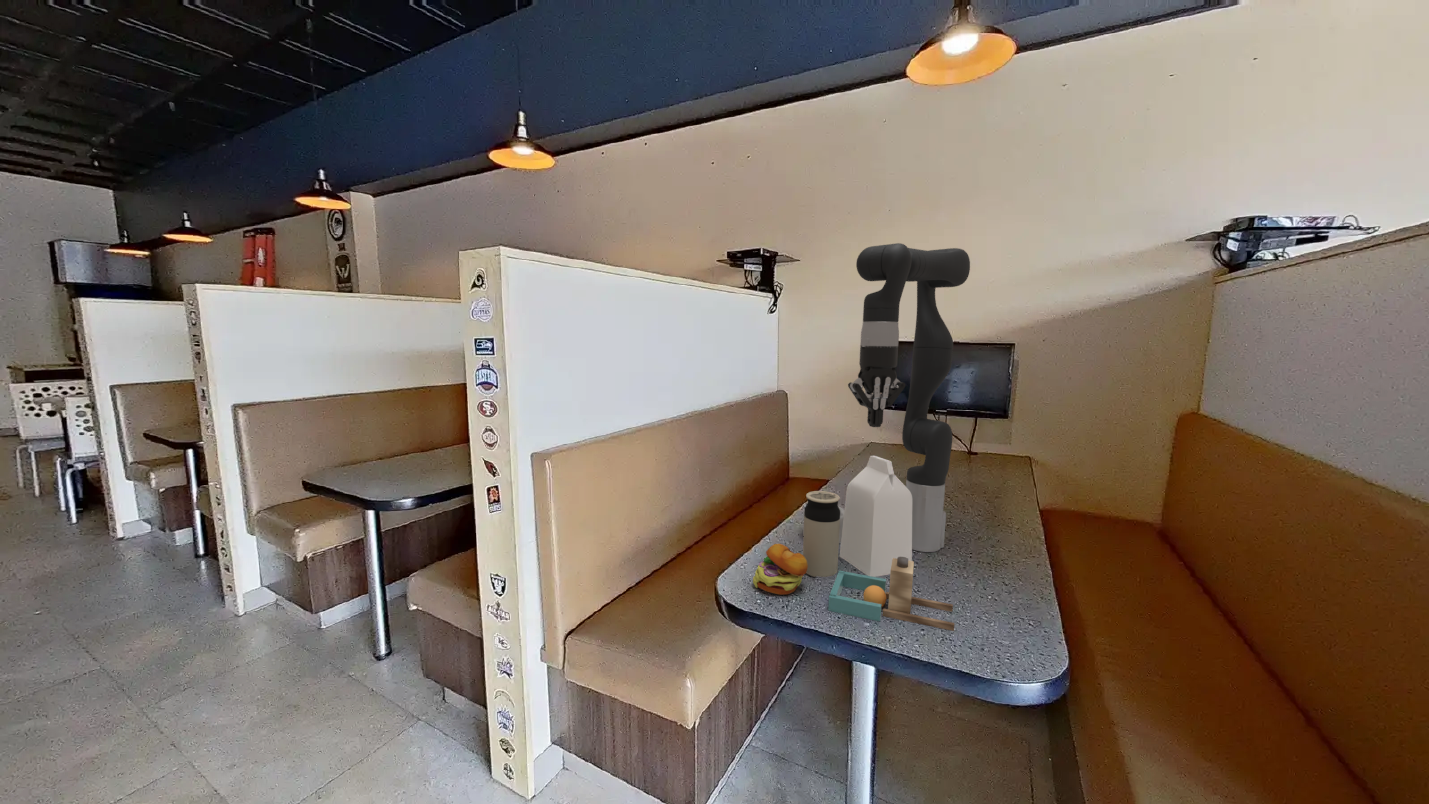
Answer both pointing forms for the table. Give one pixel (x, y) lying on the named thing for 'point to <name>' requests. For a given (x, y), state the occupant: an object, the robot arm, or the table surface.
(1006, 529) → the table surface
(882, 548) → the milk
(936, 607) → the channel
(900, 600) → the tan rectangular block
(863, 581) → the teal u-shaped frame
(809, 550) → the travel mug
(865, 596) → the ball
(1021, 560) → the table surface
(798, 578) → the cheeseburger
